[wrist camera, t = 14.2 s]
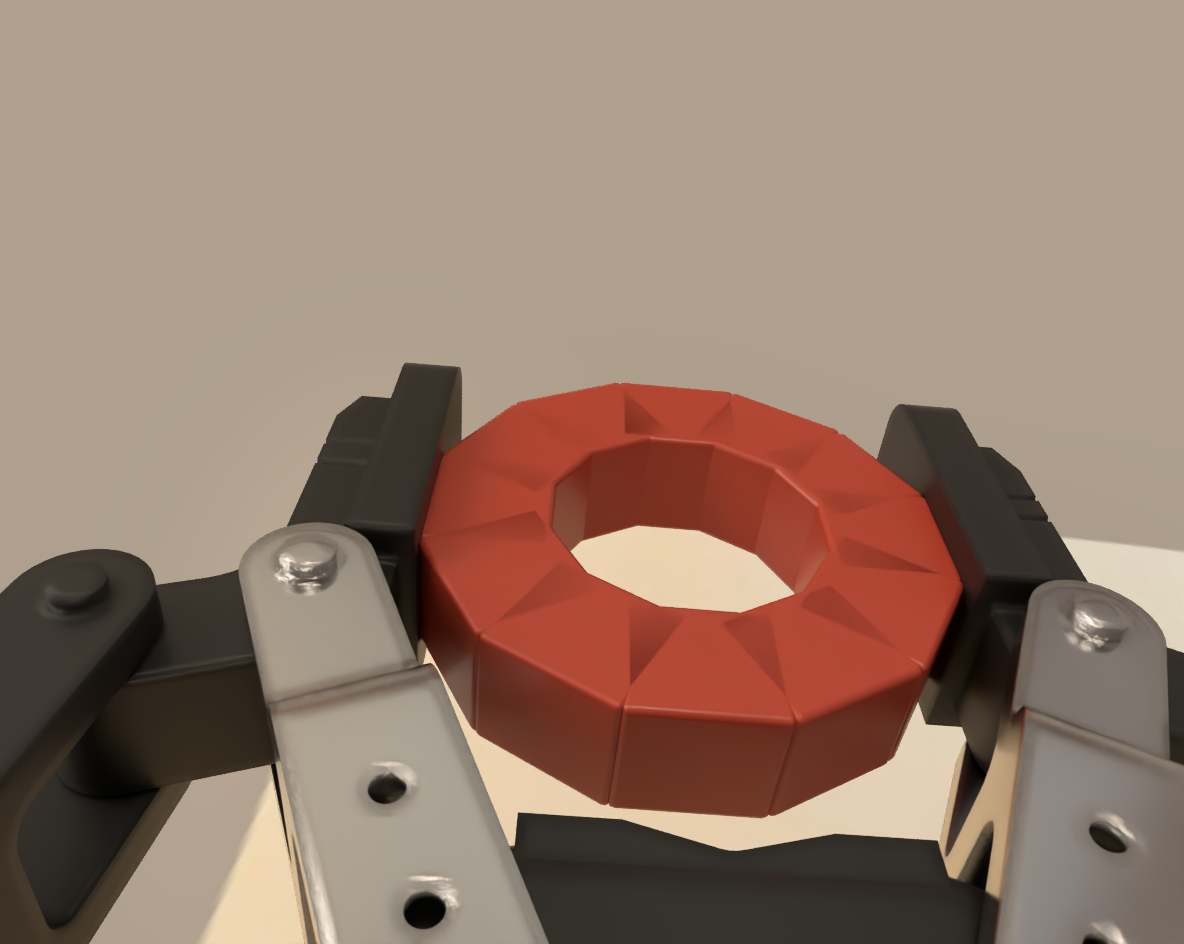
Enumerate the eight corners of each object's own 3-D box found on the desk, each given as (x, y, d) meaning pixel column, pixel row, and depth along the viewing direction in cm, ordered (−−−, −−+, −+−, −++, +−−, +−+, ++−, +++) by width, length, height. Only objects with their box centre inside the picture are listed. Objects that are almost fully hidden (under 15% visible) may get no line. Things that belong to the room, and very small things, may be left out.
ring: (861, 487, 14) (886, 403, 13) (989, 838, 9) (1040, 741, 9) (459, 453, 14) (461, 367, 13) (380, 794, 9) (373, 691, 8)
